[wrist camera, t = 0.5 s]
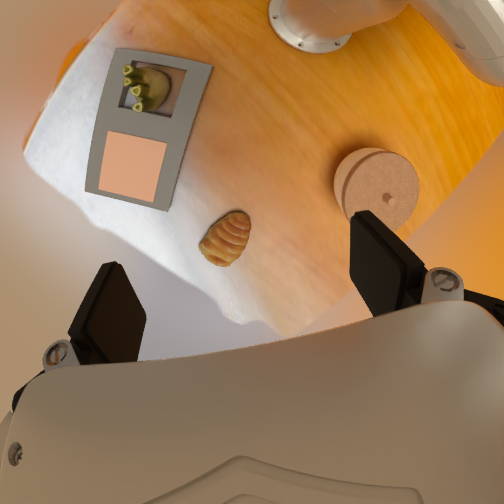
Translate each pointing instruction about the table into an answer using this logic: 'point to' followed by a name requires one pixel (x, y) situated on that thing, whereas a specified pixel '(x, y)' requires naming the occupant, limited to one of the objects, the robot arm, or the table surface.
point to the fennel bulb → (146, 86)
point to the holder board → (142, 135)
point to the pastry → (226, 239)
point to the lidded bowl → (377, 186)
